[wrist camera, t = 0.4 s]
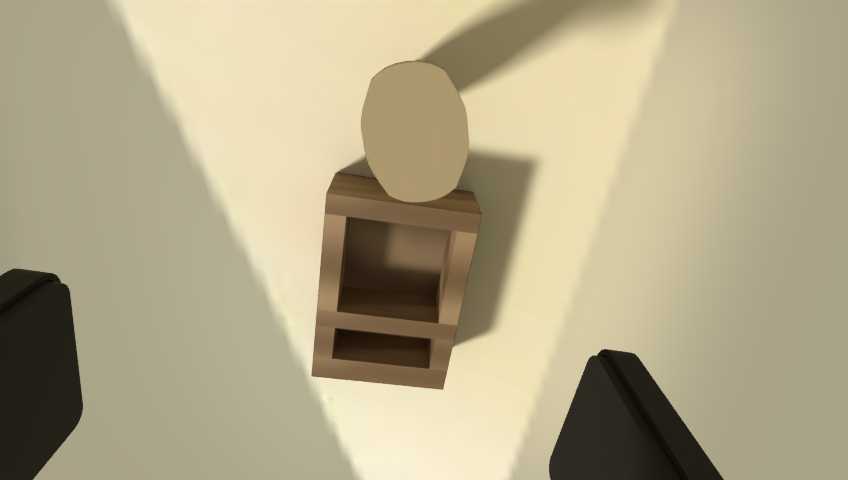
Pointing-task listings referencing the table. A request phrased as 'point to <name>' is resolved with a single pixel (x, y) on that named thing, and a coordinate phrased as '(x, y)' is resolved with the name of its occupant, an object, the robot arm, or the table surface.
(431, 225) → the socket block
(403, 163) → the handle
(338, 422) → the table surface
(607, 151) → the table surface
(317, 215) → the table surface
